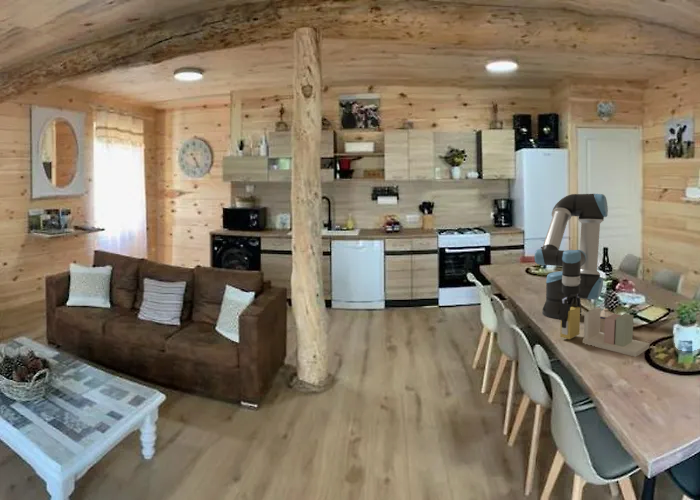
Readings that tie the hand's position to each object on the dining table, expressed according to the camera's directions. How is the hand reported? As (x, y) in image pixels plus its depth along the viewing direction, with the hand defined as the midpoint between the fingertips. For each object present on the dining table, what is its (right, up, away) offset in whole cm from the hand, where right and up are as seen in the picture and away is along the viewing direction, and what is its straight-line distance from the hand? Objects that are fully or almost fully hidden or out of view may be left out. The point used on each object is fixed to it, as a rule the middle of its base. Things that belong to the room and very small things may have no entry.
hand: (569, 331), depth 220 cm
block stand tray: (+15, -5, -11) cm, 19 cm away
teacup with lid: (+21, -2, +6) cm, 21 cm away
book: (0, -2, 0) cm, 2 cm away
